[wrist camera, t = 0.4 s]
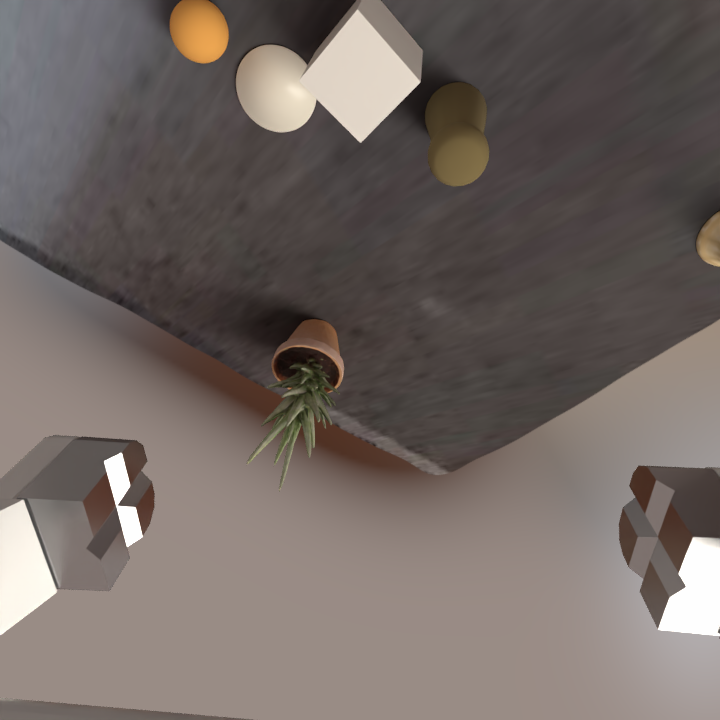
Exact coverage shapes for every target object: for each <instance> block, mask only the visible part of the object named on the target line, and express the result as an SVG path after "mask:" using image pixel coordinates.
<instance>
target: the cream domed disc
mask: <svg viewBox="0 0 720 720" xmlns="http://www.w3.org/2000/svg"><path fill="white" fill-rule="evenodd" d="M306 67H307V64H306V63H305V61H304V60H303V59H302V58H301V57H300V56H299V55H298V54H296V53H295V52H293V51H292V50H290V49H288V48H286V47H283V46H279V45H272V44H270V45H263V46H259V47H257V48H255V49H253V50H251V51H250V52H249V53H248V54H247V55H246V56H245V57H244V58H243V60H242V61H241V63H240V65H239V68H238V71H237V75H236V90H237V94H238V98H239V101H240V103H241V105H242V107H243V109H244V110H245V112H246V113H247V114H248V116H249V117H250V118H251V119H252V120H253V121H254V122H256V123H257V124H258V125H260V126H261V127H263V128H265V129H268V130H271V131H275V132H289V131H293V130H296V129H297V128H299V127H301V126H302V125H304V124H305V123H306V122H307V121H308V119H309V118H310V117H311V115H312V113H313V111H314V108H315V104H316V98H315V97H314V96H313V95H312V94H311V93H310V92H309V91H308V90H307V89H306V88H305V87H304V86H303V85H302V84H301V83H300V82H299V80H300V78H301V76H302V74H303V73H304V71H305V69H306Z"/></svg>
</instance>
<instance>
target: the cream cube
mask: <svg viewBox="0 0 720 720" xmlns="http://www.w3.org/2000/svg"><path fill="white" fill-rule="evenodd" d="M422 56H423V50H422V49H421V48H420V47H419V45H418V44H417V43H416V42H415V41H414V39H413V38H412V37H411V36H410V35H409V33H408V32H407V31H406V30H405V29H404V27H403V26H402V25H401V24H400V23H399V22H398V20H397V19H396V18H395V17H394V16H393V14H392V13H391V12H390V11H389V10H388V8H387V7H386V6H385V5H384V4H383V2H382V1H381V0H356V2H355V3H354V4H353V5H352V7H351V8H350V9H349V10H348V11H347V13H346V14H345V15H344V16H343V18H342V19H341V20H340V21H339V23H338V24H337V25H336V26H335V28H334V29H333V30H332V31H331V32H330V34H329V35H328V36H327V37H326V39H325V40H324V41H323V42H322V44H321V45H320V46H319V47H318V49H317V50H316V51H315V53H314V55H313V57H312V58H311V60H310V62H309V64H308V65H307V67H306V69H305V71H304V73H303V74H302V76H301V78H300V80H299V82H300V83H301V84H302V85H303V86H304V87H305V88H306V89H307V90H308V91H309V92H310V93H311V94H312V95H313V96H314V97H315V98H316V99H317V100H318V101H319V102H320V103H321V104H322V105H323V106H324V107H325V108H326V109H327V110H328V111H329V112H330V113H331V114H332V115H333V116H334V117H335V118H336V119H337V120H338V121H339V122H340V123H341V124H342V125H343V126H344V127H345V128H346V129H347V130H348V131H349V132H350V133H351V134H352V135H353V136H354V137H355V138H356V139H357V140H358V141H359V142H360V143H361V142H362V141H363V140H364V139H365V138H366V137H367V136H368V135H369V134H370V133H371V132H372V131H373V130H374V129H375V128H376V127H377V126H378V125H379V124H380V123H381V122H382V121H383V120H384V119H385V118H386V117H387V116H388V115H389V114H390V113H391V112H392V111H393V110H394V109H395V108H396V107H397V106H398V105H399V104H400V103H401V102H402V101H403V99H404V98H405V97H406V96H407V95H408V94H409V93H410V92H411V91H412V90H413V89H414V88H415V87H416V86H417V85H418V84H419V83H420V82H421V71H422Z"/></svg>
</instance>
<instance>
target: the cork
mask: <svg viewBox="0 0 720 720" xmlns="http://www.w3.org/2000/svg"><path fill="white" fill-rule="evenodd" d="M486 114H487V107H486V103H485V99H484V97H483V96H482V94H481V93H480V91H479V90H478V89H476V88H475V87H473V86H472V85H470V84H467V83H463V82H456V83H449V84H447V85H445V86H442V87H441V88H440V89H438V90H437V91H436V92H435V93H434V94H433V95H432V97H431V98H430V100H429V101H428V103H427V107H426V110H425V124H426V127H427V130H428V133H429V136H430V139H431V143H430V146H429V149H428V164H429V167H430V169H431V172H432V173H433V174H434V176H435V177H436V178H437V179H438V180H439V181H441V182H442V183H444V184H446V185H450V186H463V185H466V184H469V183H471V182H473V181H474V180H476V179H477V178H478V177H479V176H480V175H481V174H482V172H483V171H484V170H485V167H486V165H487V162H488V159H489V146H488V143H487V139H486V137H485V136H484V128H485V122H486Z"/></svg>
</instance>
